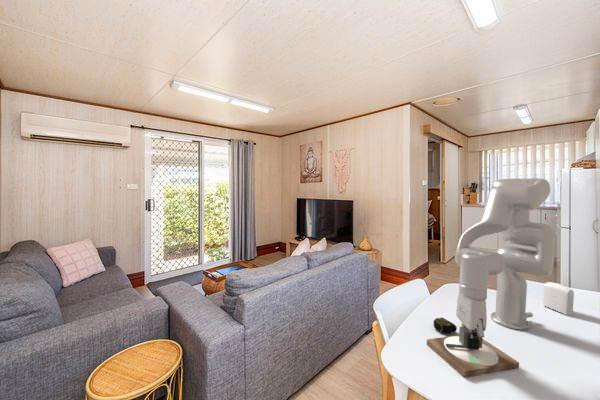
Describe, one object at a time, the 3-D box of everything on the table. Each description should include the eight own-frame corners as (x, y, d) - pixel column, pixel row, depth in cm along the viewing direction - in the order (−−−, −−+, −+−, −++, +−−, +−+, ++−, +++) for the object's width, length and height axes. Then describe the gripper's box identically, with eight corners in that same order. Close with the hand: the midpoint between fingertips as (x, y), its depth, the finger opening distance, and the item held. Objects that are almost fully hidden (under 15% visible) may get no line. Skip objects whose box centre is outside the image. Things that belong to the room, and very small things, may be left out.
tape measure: (457, 334, 98) (458, 324, 98) (443, 337, 96) (444, 327, 96) (442, 324, 104) (443, 315, 104) (429, 327, 102) (429, 318, 102)
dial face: (469, 334, 94) (469, 333, 94) (511, 362, 79) (511, 361, 79) (434, 339, 91) (434, 338, 91) (470, 369, 76) (470, 367, 76)
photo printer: (540, 305, 122) (542, 280, 121) (547, 305, 123) (549, 279, 122) (567, 316, 112) (569, 289, 111) (574, 315, 113) (576, 288, 112)
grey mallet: (476, 346, 86) (477, 328, 86) (481, 352, 83) (482, 333, 83) (444, 343, 87) (445, 325, 87) (448, 349, 84) (448, 330, 84)
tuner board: (473, 338, 95) (474, 333, 95) (518, 368, 79) (519, 362, 79) (426, 344, 91) (426, 339, 91) (464, 377, 75) (464, 371, 75)
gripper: (449, 281, 92) (447, 330, 93) (473, 301, 76) (470, 360, 77) (472, 282, 91) (469, 332, 92) (501, 303, 75) (498, 363, 76)
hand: (470, 344), depth 85 cm, fingers closed on grey mallet, 3 cm apart
